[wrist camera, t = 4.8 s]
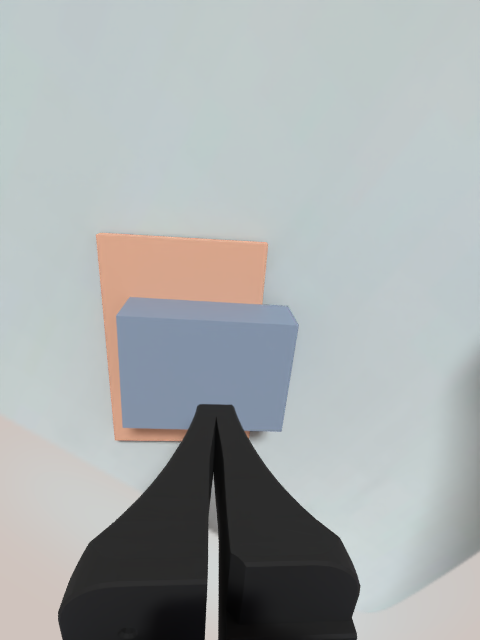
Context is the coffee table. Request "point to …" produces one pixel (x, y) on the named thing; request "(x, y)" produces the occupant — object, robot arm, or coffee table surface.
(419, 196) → the coffee table surface
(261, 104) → the coffee table surface
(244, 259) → the mat
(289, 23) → the coffee table surface
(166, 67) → the coffee table surface
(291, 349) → the slab
